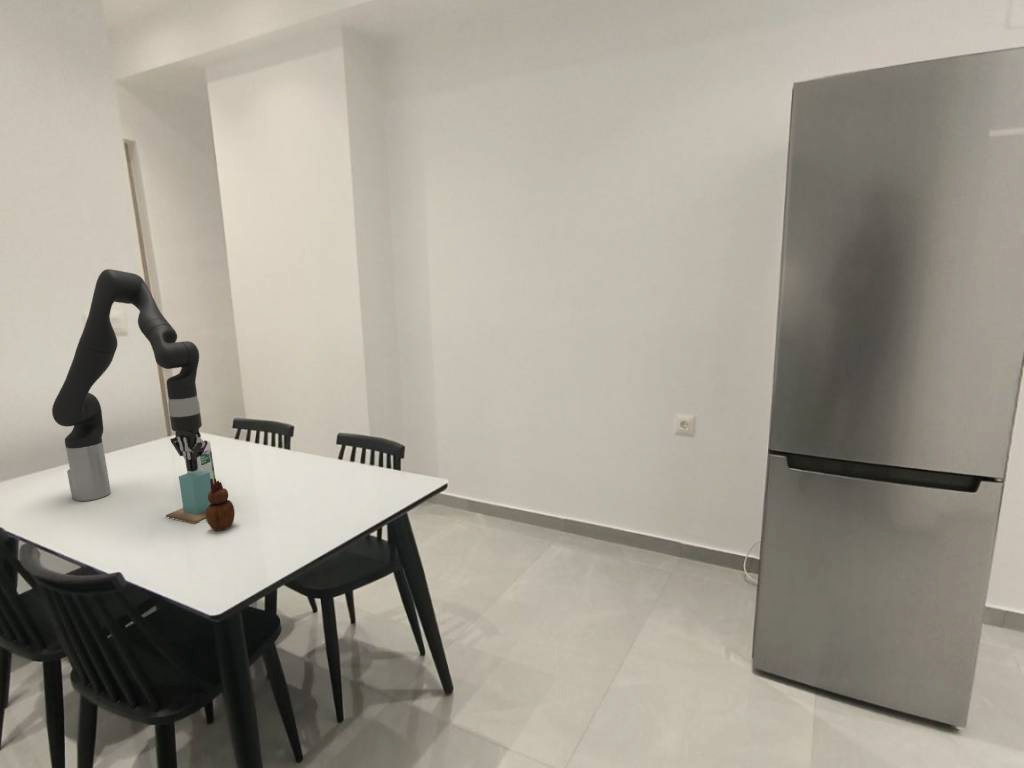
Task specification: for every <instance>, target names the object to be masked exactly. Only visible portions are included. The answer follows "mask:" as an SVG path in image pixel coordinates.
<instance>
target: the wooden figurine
mask: <svg viewBox="0 0 1024 768" xmlns="http://www.w3.org/2000/svg"><path fill="white" fill-rule="evenodd" d="M210 484H211V491H210V492H209V494H208V500H209V502H210V503H211V504H210V505H209V506H208V507H207V509H206V519H205V520H206V521H207V522H206V523H207V524H208V525H209V526H210V528H211V529H212V530H213V531H215V532H219V531H224V530H227V529H229V528H230V527H232V526H233V523H234V520H235V506H234V504H233V502H232V501H231V500H229V493H228V489H226V488H224V487H223V484H222V482H221V481H219V480H217V479H216V477H215V478H214V483H213V481H212V479H210Z"/></svg>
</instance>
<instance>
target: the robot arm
mask: <svg viewBox="0 0 1024 768" xmlns="http://www.w3.org/2000/svg"><path fill="white" fill-rule="evenodd" d="M114 303H119V304H121V303H122V304H129V305H133V306H134V307H135V308H136V309H138V310H139V313H138V318H137V325H138V328H139V330H140V331H141V333H142V334H143V335H144V337H145V339H147V341H148V342H149V344H150V346H151V350H152V351H153V355H154V359H155V362H156V364H157V365H158V366H159V367H160V368H163V369H164V370H165V369H166V370H171V369H178V368H181V369H180V371H179V372H178V374H176V375H173V376H170V377H168V378H167V380H166V390H167V398H168V412H169V413H168V414H169V420H170V427H171V428H170V429H171V430H172V431H173V432H175V434H174V435H175V436H174V437H173V438H170V442H171V444H172V446H173V448H174V449H175V451H176V452H177V454H178V455H179V456H180V457H183V458H184V460H185V459H186V463H185V466H186V465H187V469H186V471H187V470H188V471H190V472H193V471H196V470H197V469H198V464H197V457H199V456H202V454H203V452H204V450H205V448H206V446H207V444H208V442H207V441H208V440H206V439H205V440H203V439H202V434H201V433H200V428H201V427H202V426H203V422H202V415H201V414H202V413H201V408H200V402H199V398H198V392H197V386H196V385H197V384H196V378H197V373H198V372H197V371H198V367H199V363H200V362H199V361H200V352H199V349H198V347H197V345H196V344H195V343H194V342H192V341H189V340H187V341H186V340H185V341H178V342H177V340H178V333H177V331H176V330H175V329H174V327H173V326H172V325H171V324H170V322H169V321H168V320H167V319H166V317H164V314H162V312H161V311H160V308H159V307H158V304H157V303H156V300H155V298H154V297H153V294H152V292H151V291H150V288H149V287H148V285H147V283H146V282H145V280H144V279H143V277H141V276H140V275H139V274H136V273H132V272H128V271H122V270H117V269H111V268H107V269H104V270H102V271H101V273H100V274H99V275H98V277H97V280H96V283H95V287H94V290H93V295H92V299H91V304H90V307H89V311H88V316H87V319H86V322H85V324H84V327H83V330H82V333H81V335H80V338H79V341H78V343H77V347H76V348H75V351H74V356H73V359H72V361H71V364H70V366H69V369H68V372H67V374H66V377H65V378H64V379H65V380H64V381H63V384H62V386H61V388H60V390H59V392H58V393H57V396H56V398H55V399H54V402H53V405H52V408H51V412H52V413H51V414H52V418H53V420H54V421H55V423H56V424H57V425H58V426H61V427H66V428H67V427H73V428H72V430H71V432H70V433H69V434H68V435H66V436H65V438H64V444H65V445H64V446H65V450H66V457H67V461H68V467H69V469H67V471H66V472H67V479H68V484H69V488H70V494H71V495H70V496H71V499H72V500H74V501H77V502H86V501H87V502H88V501H94V500H98V499H101V498H104V497H105V498H106V496H108V495H110V494H111V493H112V490H111V485H110V479H109V473H108V468H107V467H108V466H107V460H106V455H105V449H104V448H105V447H104V444H103V443H104V442H103V434H104V421H103V411H102V407H101V403H100V400H99V399H98V398H97V397H96V396H95V395H94V394H93V393H90V390H91V389H92V387H93V386H94V385H95V383H96V382H97V381H98V380H99V379H100V378H101V377H102V375H104V374H105V372H106V371H107V370H108V368H109V367H110V366H111V364H112V362H113V360H114V356H115V354H116V351H117V349H118V348H117V347H118V338H117V335H116V333H115V330H114V328H113V325H112V323H111V318H110V317H111V310H112V306H113V304H114Z"/></svg>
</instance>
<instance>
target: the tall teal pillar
mask: <svg viewBox="0 0 1024 768" xmlns="http://www.w3.org/2000/svg"><path fill="white" fill-rule="evenodd" d="M178 481H179V489H180V495H181V502H182V508H183V510H184V512H185V513H189V514H194V515H199V514H201V513H203V512H206V509H207V507H208V506H209V505H210V504H211V503H210V502H209V500H208V494H209V492H210V491H211V484H210V472H205V471H199V470H196V471H193V472H190V473H187V472H186V473H184V474H181V475H178Z"/></svg>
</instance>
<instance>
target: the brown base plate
mask: <svg viewBox="0 0 1024 768" xmlns="http://www.w3.org/2000/svg"><path fill="white" fill-rule="evenodd" d="M166 517H169V518H168V519H170V518H174V519H173V520H175V519H178V520H177V521H179V520H182V521H181V522H183V521H185V522H184V523H188V522H189V524H192V523H193V525H197V524H198V523H200V521H201V522H203V521H204V519H205V520H207V519H206V512H203V513H201V514H199V515H194V514H189V513H185V512H184V510H183V507H182V508H180V509H177V510H174V511H171V512H169V513H167V514H166V515H165V518H166ZM202 520H203V521H202Z"/></svg>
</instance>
